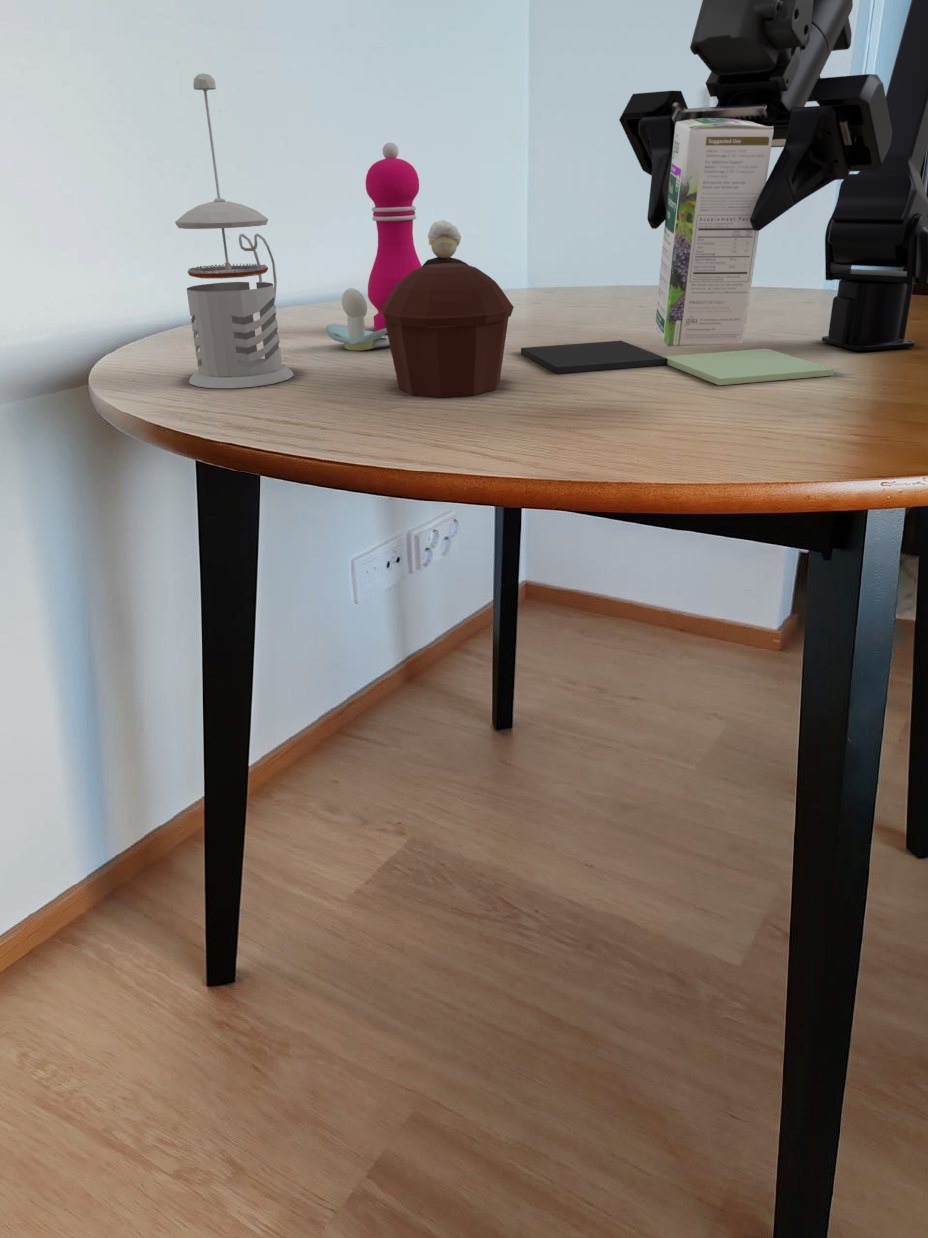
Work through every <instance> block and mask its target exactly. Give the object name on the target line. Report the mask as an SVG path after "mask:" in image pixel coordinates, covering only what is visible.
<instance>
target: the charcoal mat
mask: <svg viewBox="0 0 928 1238" xmlns="http://www.w3.org/2000/svg"><path fill="white" fill-rule="evenodd" d="M520 354H521V355H522V356H524V357H526V358H528V359H530V360H531V361H533V362H535V363H537V364H539V365H541V366H542V367H544V368H546V369H547V370H550V371H551V372H553V373H555V374H557V375H559V374H570V373H583V372H594V371H608V370H609V371H610V370H619V369H633V368H645V367H656V366H657V367H658V366H666V365H667V358H665V357H666V356H663V355H661V354H660V355H659V354H657V353H654V352H652V351H649V350H646V349H644V348H641V347H639V346H637V345H633V344H632V343H629V342H626V341H623V340H609V341H596V342H595V341H594V342H583V343H567V344H555V345H541V346H527V347H520ZM667 366H668V365H667Z"/></svg>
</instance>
